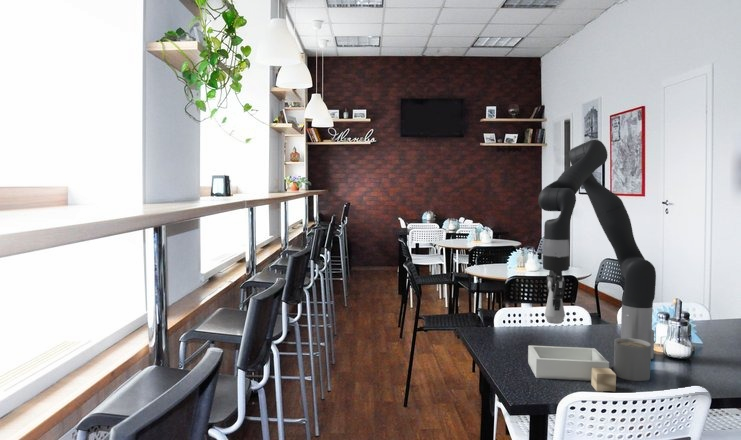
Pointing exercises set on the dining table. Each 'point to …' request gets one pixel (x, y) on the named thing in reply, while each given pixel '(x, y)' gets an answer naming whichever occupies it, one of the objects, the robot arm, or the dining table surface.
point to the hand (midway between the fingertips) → (554, 310)
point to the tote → (564, 362)
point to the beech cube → (603, 379)
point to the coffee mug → (632, 359)
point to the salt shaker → (552, 314)
